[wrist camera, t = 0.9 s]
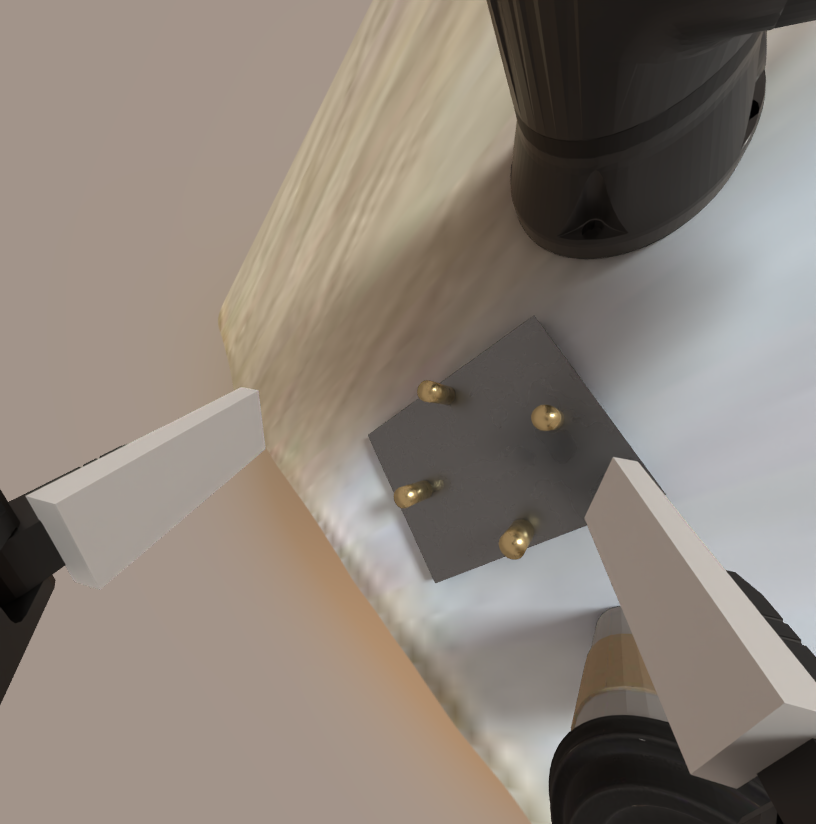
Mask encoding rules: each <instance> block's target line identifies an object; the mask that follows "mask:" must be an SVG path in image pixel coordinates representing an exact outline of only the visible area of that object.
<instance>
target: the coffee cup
mask: <svg viewBox="0 0 816 824" xmlns="http://www.w3.org/2000/svg"><path fill="white" fill-rule="evenodd" d="M549 797H550V811H551V821H552V824H738V823H739V821H740V819H741V818H742V817H744V816H745V815H747V814H749V813H751V812H753V811H754V810H756V809H758V808H760V807H762V806H763V805H765V804H767V803H769V802H771V800H770V798H769V796H768V794H767V792H766V790H765V789H764V787H763V785H762V783H761V781H760V779H759V777H758V776H756V777H755V778H753V779H752V780H750V781H749V782H747V783H745V784H744V785H742V786H741V787H739V788H737V789H736V788H732V787H729V786H726V785H723V784H720V783H716V782H713V781H710V780H707V779H704V778H700V777H697V776H694V775H691V774H690V772H689V770H688V767H687V765H686V762H685V760H684V758H683V755H682V753H681V750H680V748H679V745H678V743H677V741H676V738H675V736H674V733H673V731H672V729H671V726H670V724H669V721H668V719H667V717H666V714H665V712H664V709H663V707H662V704H661V702H660V700H659V697H658V695H657V692H656V690H655V688H654V685H653V683H652V680H651V678H650V675H649V673H648V671H647V668H646V666H645V663H644V661H643V659H642V656H641V654H640V651H639V649H638V646H637V644H636V642H635V639H634V637H633V634H632V632H631V630H630V627H629V625H628V622H627V620H626V617H625V615H624V613H623V610H622V608H621V606H620V607H615V608H611V609H609V610H607V611H605V612H604V613H603V614H602V615H601V616H600V618H599V620H598V622H597V625H596V629H595V633H594V638H593V643H592V647H591V650H590V651H589V653H588V655H587V659H586V662H585V667H584V671H583V676H582V680H581V685H580V689H579V694H578V698H577V703H576V708H575V712H574V717H573V721H572V726H571V731H570V732H569V733H568V734H567V735H566V736H565V737H564V738H563V740H562V741H561V743H560V744H559V746H558V747H557V749H556V752H555V754H554V757H553V759H552V763H551V767H550V774H549Z"/></svg>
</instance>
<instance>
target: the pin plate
mask: <svg viewBox="0 0 816 824" xmlns="http://www.w3.org/2000/svg"><path fill="white" fill-rule="evenodd" d="M417 393H418V397H419V399H417V400H416V401H415V402H413V403H412V404H410V405H409V406H408V407H406V408H405V409H404V410H402V411H401V412H399V413H398V414H397V415H395V416H394V417H392V418H391V419H390V420H388V421H387V422H385V423H384V424H383V425H381V426H380V427H379V428H377V429H376V430H374V431H373V432H372V433H370V434H369V435H368V437H369V439H370V441H371V443H372V445H373V448H374V450H375V452H376V454H377V456H378V459H379V461H380V463H381V465H382V467H383V470H384V472H385V474H386V476H387V478H388V481H389V483H390V485H391V487H392V489H393V492H394V501H395V503H396V504H397V506H399V507H400V508H401V509H402V511H403V514H404V516H405V518H406V520H407V522H408V525H409V527H410V529H411V531H412V533H413V536H414V538H415V540H416V542H417V544H418V547H419V549H420V551H421V553H422V555H423V558H424V560H425V562H426V564H427V566H428V568H429V571H430V573H431V575H432V577H433V579H434V582H435V583H438V582H440V581H443V580H445V579H448V578H451V577H453V576H456V575H458V574H461V573H464V572H466V571H469V570H471V569H474V568H477V567H479V566H482V565H484V564H487V563H490V562H492V561H495V560H497V559H500V558H503V557H505V556H506V557H507V558H510V559H519V558H521V557H522V556H523V555H524V553H525V551H526V549H527V548H529V547H531V546H534V545H537V544H539V543H542V542H544V541H547V540H550V539H552V538H555V537H557V536H560V535H563V534H565V533H568V532H570V531H573V530H576V529H578V528H581V527H583V526H586V525H587V523H586V521H585V518H584V517H585V515H586V513H587V511H588V509H589V507H590V505H591V503H592V500H593V498H594V496H595V494H596V492H597V490H598V488H599V486H600V484H601V481H602V479H603V477H604V475H605V473H606V471H607V469H608V467H609V464H610V462H611V460H612V458H613V457H616V458H622V459H627V460H632V461H638V463H639V464H640V465H641V466H642V467H643V469H644V470H645V471H646V472H647V474H648V475H649V476H650V477H651V479H652V480H653V481H654V482H655V484H656V485H657V486H658V487H659V489H660V490H661V491H662V492H663V493H664V491H663V490H662V489H661V487H660V486H659V484H658V483H657V482H656V480H655V479H654V478H653V476H652V475H651V474H650V472H649V471H648V470H647V468H646V467H645V465H644V464H643V463H642V461H641V460H640V459H639V457H638V456H637V455H636V453H635V452H634V451H633V449H632V448H631V446H630V445H629V444H628V442H627V441H626V440H625V438H624V437H623V436H622V434H621V433H620V431H619V430H618V429H617V427H616V426H615V425H614V423H613V422H612V421H611V419H610V418H609V417H608V415H607V414H606V412H605V411H604V410H603V408H602V407H601V406H600V404H599V403H598V402H597V400H596V399H595V398H594V396H593V395H592V393H591V392H590V391H589V389H588V388H587V387H586V385H585V384H584V383H583V381H582V380H581V379H580V377H579V376H578V374H577V373H576V372H575V370H574V369H573V368H572V366H571V365H570V364H569V362H568V361H567V360H566V358H565V357H564V355H563V354H562V353H561V351H560V350H559V349H558V347H557V346H556V345H555V343H554V342H553V341H552V339H551V338H550V336H549V335H548V334H547V332H546V331H545V330H544V328H543V327H542V326H541V324H540V323H539V321H538V320H537V319H536V317H535V316H533V317H531V318H530V319H528V320H527V321H526V322H524V323H523V324H522V325H520V326H519V327H517V328H516V329H515V330H513V331H512V332H510V333H509V334H508V335H506V336H505V337H503V338H502V339H501V340H499V341H498V342H497V343H495V344H494V345H492V346H491V347H490V348H488V349H487V350H485V351H484V352H483V353H481V354H480V355H478V356H477V357H476V358H474V359H473V360H472V361H470V362H469V363H467V364H466V365H465V366H463V367H462V368H460V369H459V370H458V371H456V372H455V373H453V374H452V375H451V376H449V377H448V378H447V379H445V380H444V381H442V382H441V383H436V382H433V381H429V380H426V381H423V382H422V383H421V384H420V385H419V387H418V390H417ZM664 495H666V494H665V493H664Z"/></svg>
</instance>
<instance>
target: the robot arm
mask: <svg viewBox="0 0 816 824" xmlns="http://www.w3.org/2000/svg"><path fill="white" fill-rule="evenodd" d="M487 4H488V8H489V12H490V16H491V20H492V24H493V27H494V31H495V35H496V39H497V43H498V47H499V51H500V55H501V59H502V62H503V66H504V70H505V74H506V78H507V82H508V86H509V90H510V94H511V97H512V101H513V105H514V109H515V113H516V117H517V124H516V132H515V140H514V150H513V161H512V165H511V175H510V184H511V194H512V199H513V203H514V206H515V209H516V212H517V215H518V218H519V220H520V223H521V225H522V227H523V228H524V230H525V231H526V233H527V234H528V235H529V237H530V238H531V239H532V240H533V241H534V242H536V243H537V244H538V245H540V246H541V247H543V248H544V249H546V250H548V251H550V252H552V253H555V254H558V255H561V256H565V257H570V258H580V259H595V258H604V257H611V256H616V255H620V254H624V253H627V252H630V251H633V250H636V249H639V248H641V247H644V246H646V245H649V244H651V243H653V242H655V241H657V240H659V239H661V238H663V237H665V236H666V235H668V234H670V233H671V232H673V231H675V230H676V229H678V228H679V227H681V226H682V225H683V224H685V223H686V222H688V221H689V220H690V219H691V218H693V217H694V216H695V215H696V214H697V213H699V212H700V211H701V210H702V209H703V208H704V207H705V206H706V205H707V204H708V203H709V202H710V201H711V200H712V199H713V198H714V197H715V196H716V195H717V194H718V192H719V191H720V190H721V189H722V188H723V186H724V185H725V184H726V182H727V181H728V179H729V178H730V176H731V175H732V173H733V172H734V170H735V168H736V167H737V165H738V163H739V161H740V159H741V158H742V156H743V154H744V152H745V150H746V148H747V147H748V145H749V143H750V141H751V139H752V137H753V135H754V133H755V130H756V127H757V125H758V122H759V119H760V116H761V112H762V109H763V104H764V98H765V83H766V76H765V65H766V48H767V30H771V29H773V28H778V27H783V26H788V25H793V24H798V23H803V22H808V21H813V20H816V0H487ZM264 450H265V440H264V432H263V424H262V415H261V407H260V398H259V390H254V389H249V388H244V387H240V388H238V389H236V390H234V391H233V392H230V393H228V394H226V395H224V396H222V397H220V398H219V399H216V400H214V401H212V402H211V403H208V404H207V405H205V406H203V407H201V408H199V409H197V410H195V411H193V412H191V413H189V414H187V415H185V416H183V417H181V418H179V419H177V420H175V421H173V422H171V423H169V424H167V425H165V426H163V427H161V428H159V429H157V430H155V431H153V432H151V433H149V434H147V435H145V436H143V437H141V438H139V439H137V440H135V441H133V442H131V443H129V444H127V445H123V446H120V447H118V448H116V449H114V450H112V451H110V452H108V453H106V454H104V455H102V456H100V458H99V459H94V460H92V461H90V462H88V463H86V464H84V465H83V467H78V468H76V469H74V470H72V471H70V472H68V473H66V474H64V475H62V476H60V477H58V478H56V479H54V480H52V481H50V482H48V483H46V484H44V485H42V486H40V487H38V488H36V489H34V490H32V491H30V492H28V493H26V494H24V495H22V496H20V497H18V498H16V499H14V500H11V501H9V502H8V501H7V500H6V498H5V496H4V495H3V493H2V491H1V490H0V704H1V702H2V700H3V698H4V695H5V694H6V691H7V689H8V687H9V685H10V683H11V681H12V678H13V676H14V674H15V672H16V670H17V667H18V665H19V663H20V661H21V659H22V657H23V654H24V652H25V650H26V648H27V646H28V644H29V641H30V639H31V637H32V635H33V633H34V631H35V628H36V626H37V624H38V622H39V620H40V618H41V615H42V613H43V611H44V608H45V607H46V605H47V602H48V600H49V598H50V596H51V594H52V591H53V589H54V586H55V579H54V577H53V575H52V574H53V573H55V572H56V571H58V570H59V569H61V568H62V567H63V566H66V568H67V570H68V572H69V573H70V575H71V577H72V579H73V580H74V582H76V583H80V584H83V585H86V586H89V587H93V588H96V589H99V590H100V589H102V588H103V587H104V586H105V585H106V584H107V583H109V582H110V581H111V580H112V579H113V578H114V577H116V576H117V575H118V574H119V573H120V572H122V571H123V570H124V569H125V568H126V567H127V566H129V565H130V564H131V563H132V562H133V561H134V560H136V559H137V558H138V557H139V556H140V555H142V554H143V553H144V552H145V551H146V550H147V549H149V548H150V547H151V546H152V545H153V544H154V543H155V542H157V541H158V540H159V539H160V538H162V537H163V536H164V535H165V534H166V533H167V532H168V531H170V530H171V529H172V528H173V527H174V526H175V525H177V524H178V523H179V522H180V521H181V520H182V519H184V518H185V517H186V516H187V515H189V514H190V513H191V512H192V511H193V510H194V509H196V508H197V507H198V506H199V505H200V504H201V503H202V502H204V501H205V500H206V499H207V498H208V497H209V496H211V495H212V494H213V493H214V492H215V491H217V490H218V489H219V488H220V487H221V486H223V485H224V484H225V483H226V482H227V481H228V480H230V479H231V478H232V477H233V476H234V475H236V474H237V473H238V472H239V471H240V470H241V469H243V468H244V467H245V466H246V465H247V464H248V463H250V462H251V461H252V460H253V459H254V458H255V457H257V456H258V455H259V454H260V453H261V452H263V451H264ZM584 518H585V521H586V523H587V526H588V528H589V531H590V533H591V535H592V538H593V540H594V543H595V545H596V547H597V550H598V552H599V555H600V557H601V560H602V562H603V564H604V567H605V569H606V572H607V574H608V576H609V579H610V581H611V584H612V586H613V589H614V591H615V593H616V596H617V598H618V601H619V603H620V605H621V608H622V610H623V613H624V615H625V617H626V620H627V622H628V625H629V627H630V630H631V632H632V634H633V637H634V639H635V642H636V644H637V646H638V649H639V651H640V654H641V656H642V659H643V661H644V663H645V666H646V668H647V671H648V673H649V675H650V678H651V680H652V683H653V685H654V688H655V690H656V692H657V695H658V697H659V700H660V702H661V704H662V707H663V709H664V712H665V714H666V717H667V719H668V721H669V724H670V726H671V729H672V731H673V733H674V736H675V738H676V741H677V743H678V745H679V748H680V750H681V753H682V755H683V758H684V760H685V762H686V765H687V767H688V770H689V772H690V774H691V775H694V776H697V777H700V778H704V779H707V780H710V781H713V782H716V783H720V784H723V785H726V786H729V787H732V788H736V789H737V788H739V787H741V786H742V785H744V784H745V783H747V782H749V781H750V780H752V779H753V778H755V777H756V776H758V777H759V779H760V781H761V783H762V785H763V787H764V789H765V790H766V792H767V794H768V796H769V798H770V800H771V802H769V803H767V804H765V805H763V806H762V807H760V808H758V809H756V810H754V811H753V812H751V813H749V814H747V815H745V816H744V817H742V818H741V819H740V821H739V823H738V824H816V657H815V656H814V654H813V653H812V652H811V651H810V650H809V649H808V647H807V646H804V645H802V644H801V639H800V638H799V637H798V636H797V635H796V633H795V632H794V631H793V630H792V629H791V628H790V626H789V625H788V624H785V623H783V618H782V617H781V616H780V615H779V614H778V612H777V611H776V610H775V609H774V608H773V607H772V605H771V604H770V603H769V602H768V601H767V600H766V598H765V597H764V596H763V595H762V594H761V593H760V592H758V591H757V590H756V589H755V588H754V587H752V586H751V585H750V584H749V583H748V582H746V581H745V580H744V579H743V578H742V577H740V576H739V575H738V574H737V573H735V572H732V571H727V570H725V569H724V568H723V567H722V565H721V564H720V563H719V562H718V560H717V559H716V558H715V557H714V555H713V554H712V553H711V552H710V550H709V549H708V548H707V547H706V545H705V544H704V543H703V542H702V541H701V539H700V538H699V537H698V536H697V534H696V533H695V532H694V531H693V529H692V528H691V527H690V526H689V524H688V523H687V522H686V521H685V519H684V518H683V517H682V516H681V515H680V513H679V512H678V511H677V510H676V508H675V507H674V506H673V505H672V503H671V502H670V501H669V500H668V498H667V497H666V496H665V495H664V493H663V492H662V491H661V490H660V489H659V487H658V486H657V485H656V484H655V482H654V481H653V480H652V479H651V477H650V476H649V475H648V474H647V472H646V471H645V470H644V469H643V467H642V466H641V465H640V464H639V463H638V461H632V460H627V459H622V458H616V457H613V458H612V460H611V462H610V464H609V467H608V469H607V471H606V473H605V475H604V477H603V479H602V481H601V484H600V486H599V488H598V490H597V492H596V494H595V496H594V498H593V500H592V503H591V505H590V507H589V509H588V511H587V513H586V515H585V517H584Z"/></svg>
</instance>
